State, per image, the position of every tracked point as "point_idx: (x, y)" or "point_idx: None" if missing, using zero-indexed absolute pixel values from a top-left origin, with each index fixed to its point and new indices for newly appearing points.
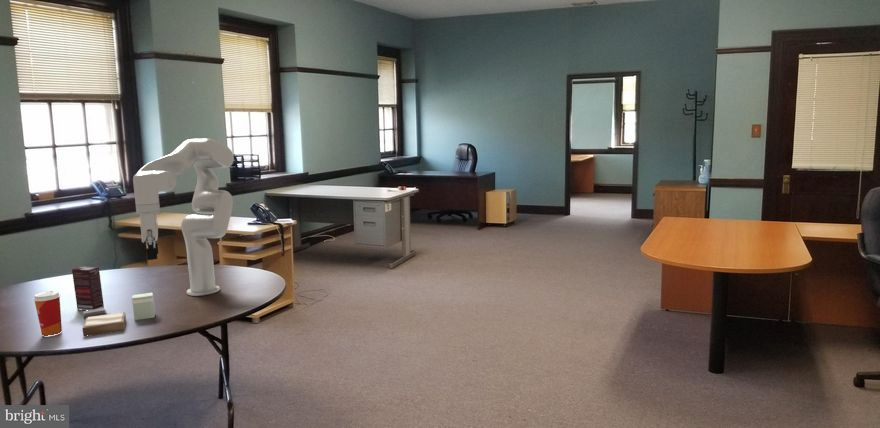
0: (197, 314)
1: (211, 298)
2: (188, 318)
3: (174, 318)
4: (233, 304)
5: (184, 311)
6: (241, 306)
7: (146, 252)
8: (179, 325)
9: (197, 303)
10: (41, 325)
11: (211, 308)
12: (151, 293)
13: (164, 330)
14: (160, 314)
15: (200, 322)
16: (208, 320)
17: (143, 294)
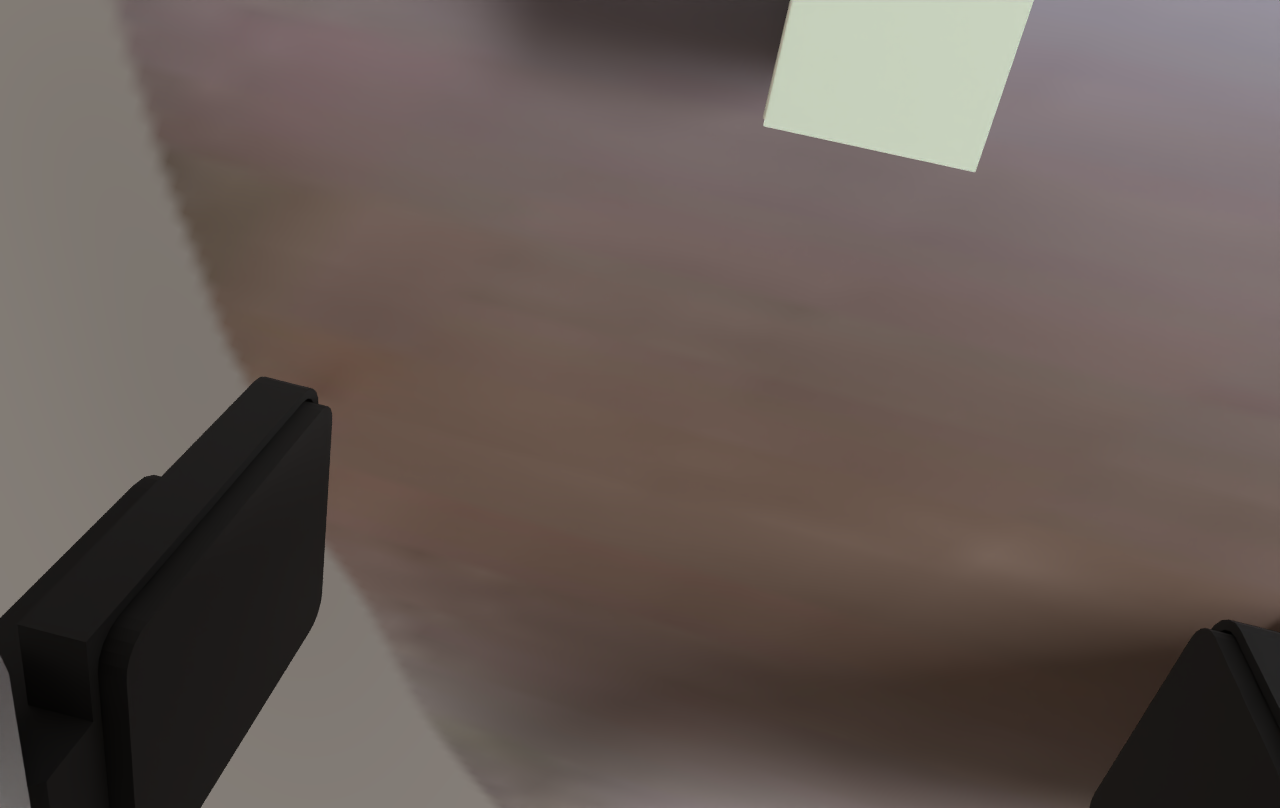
0: (558, 442)
1: (1046, 701)
2: (474, 340)
3: (568, 229)
4: (664, 747)
5: (766, 378)
6: (554, 763)
7: (126, 517)
8: (282, 208)
9: (975, 557)
10: None
11: (675, 590)
12: (918, 143)
13: (186, 37)
14: None
15: None
16: None
17: (964, 14)
